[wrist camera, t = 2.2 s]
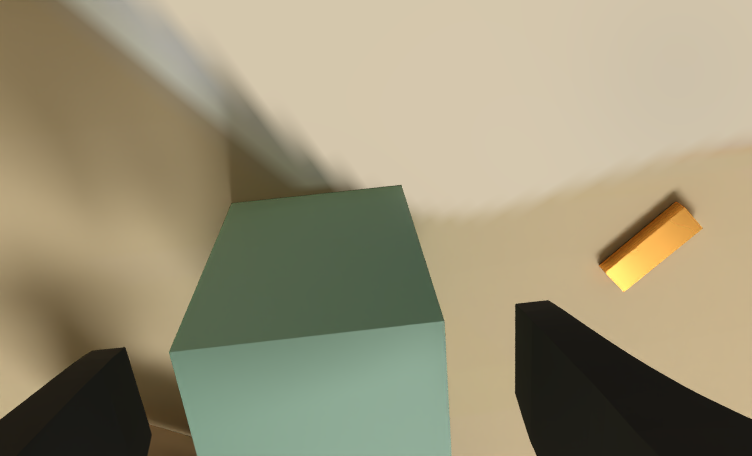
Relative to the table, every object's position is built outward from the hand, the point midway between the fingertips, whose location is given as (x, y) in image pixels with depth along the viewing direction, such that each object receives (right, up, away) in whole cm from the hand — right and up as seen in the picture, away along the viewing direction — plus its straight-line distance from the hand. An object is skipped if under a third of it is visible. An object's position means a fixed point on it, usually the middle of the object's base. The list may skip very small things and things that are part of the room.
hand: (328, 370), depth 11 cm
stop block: (0, +2, +4) cm, 4 cm away
